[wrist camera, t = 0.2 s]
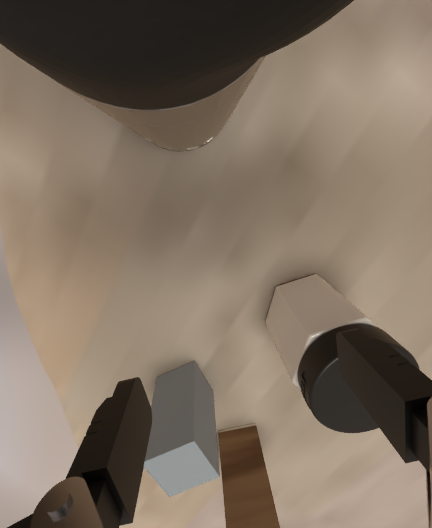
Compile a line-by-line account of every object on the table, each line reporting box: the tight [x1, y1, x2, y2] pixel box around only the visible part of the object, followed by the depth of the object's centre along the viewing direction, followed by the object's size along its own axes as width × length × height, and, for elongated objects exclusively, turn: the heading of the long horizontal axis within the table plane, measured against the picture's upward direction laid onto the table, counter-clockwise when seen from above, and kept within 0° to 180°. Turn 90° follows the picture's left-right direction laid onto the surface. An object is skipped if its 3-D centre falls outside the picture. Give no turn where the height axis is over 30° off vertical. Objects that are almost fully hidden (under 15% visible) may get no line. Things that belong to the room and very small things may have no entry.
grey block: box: [144, 361, 220, 497], centre depth 28 cm, size 5×5×10 cm
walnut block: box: [218, 423, 280, 528], centre depth 31 cm, size 5×5×12 cm
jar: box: [265, 274, 419, 433], centre depth 25 cm, size 9×8×12 cm
